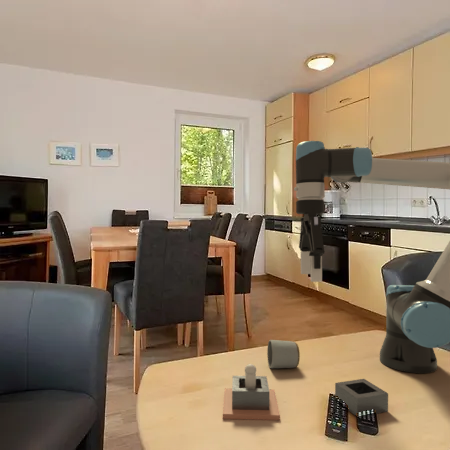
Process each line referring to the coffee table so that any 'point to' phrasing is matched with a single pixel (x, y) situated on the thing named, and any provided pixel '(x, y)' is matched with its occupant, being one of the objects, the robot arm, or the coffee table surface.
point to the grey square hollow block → (362, 396)
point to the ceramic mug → (283, 354)
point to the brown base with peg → (250, 414)
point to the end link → (250, 394)
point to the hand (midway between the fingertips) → (310, 277)
